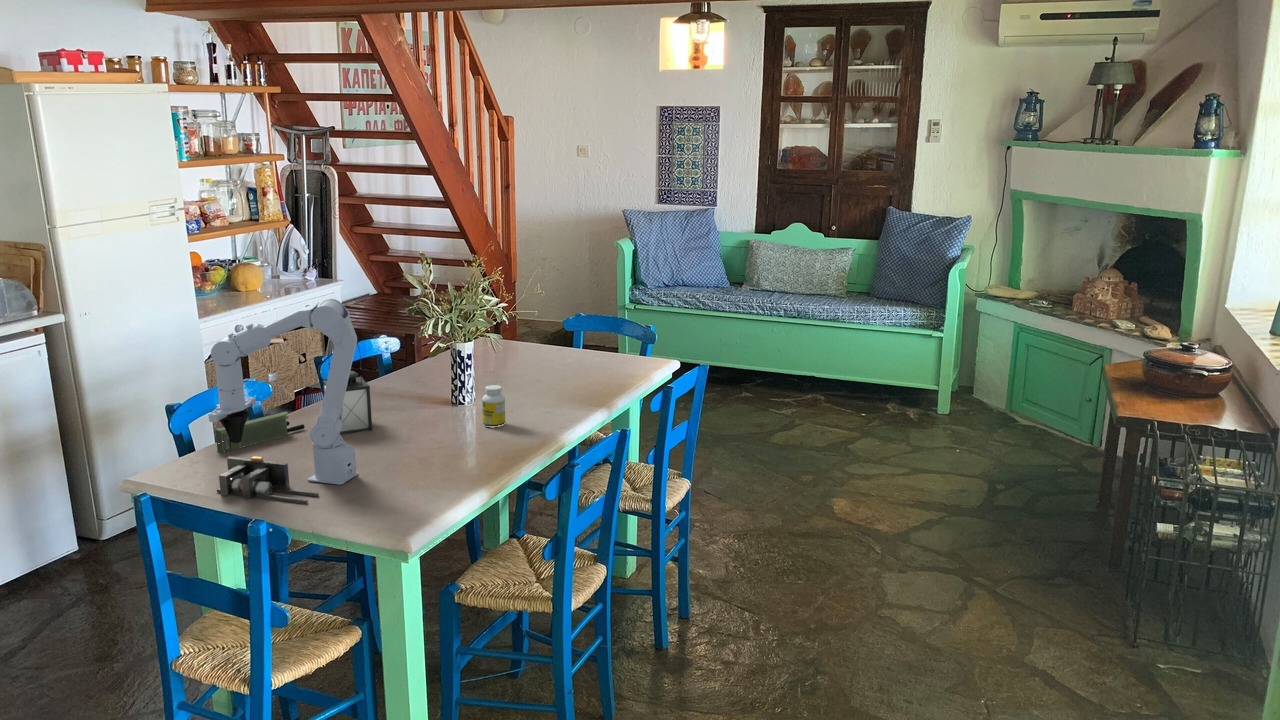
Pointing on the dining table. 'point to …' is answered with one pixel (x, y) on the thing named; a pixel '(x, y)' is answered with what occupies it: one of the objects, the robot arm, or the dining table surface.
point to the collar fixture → (259, 479)
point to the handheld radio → (257, 431)
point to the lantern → (355, 404)
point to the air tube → (258, 486)
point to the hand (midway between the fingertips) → (236, 442)
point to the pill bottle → (493, 406)
